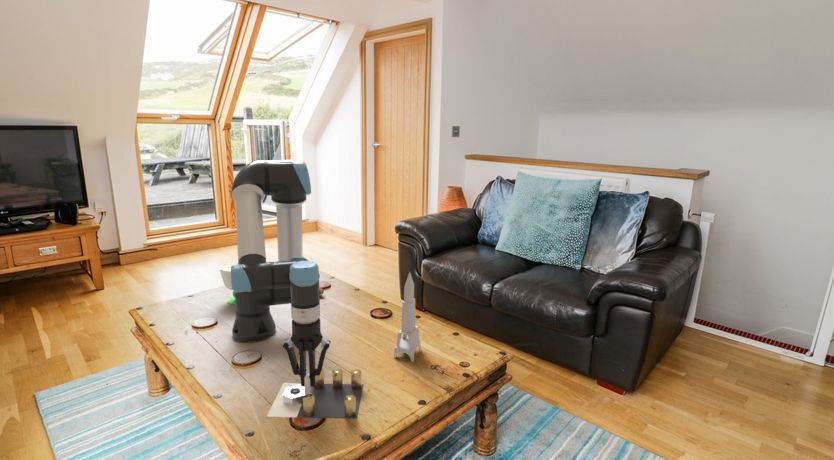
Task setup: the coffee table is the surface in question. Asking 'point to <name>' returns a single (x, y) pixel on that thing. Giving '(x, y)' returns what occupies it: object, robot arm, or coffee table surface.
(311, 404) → the spacers
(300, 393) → the nut
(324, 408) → the mat
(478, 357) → the coffee table surface
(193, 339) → the coffee table surface
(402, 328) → the sculpture
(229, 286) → the cup
